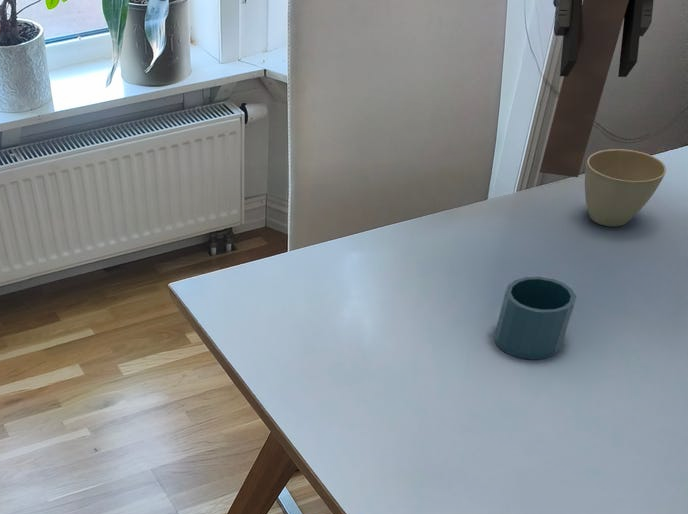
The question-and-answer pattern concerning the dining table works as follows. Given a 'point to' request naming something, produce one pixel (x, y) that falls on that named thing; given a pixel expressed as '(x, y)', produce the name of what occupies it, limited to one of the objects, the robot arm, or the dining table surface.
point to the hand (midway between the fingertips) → (597, 68)
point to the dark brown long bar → (583, 87)
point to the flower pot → (620, 184)
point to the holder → (534, 317)
